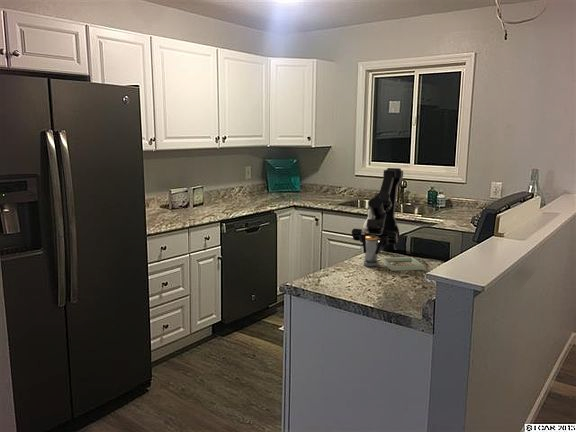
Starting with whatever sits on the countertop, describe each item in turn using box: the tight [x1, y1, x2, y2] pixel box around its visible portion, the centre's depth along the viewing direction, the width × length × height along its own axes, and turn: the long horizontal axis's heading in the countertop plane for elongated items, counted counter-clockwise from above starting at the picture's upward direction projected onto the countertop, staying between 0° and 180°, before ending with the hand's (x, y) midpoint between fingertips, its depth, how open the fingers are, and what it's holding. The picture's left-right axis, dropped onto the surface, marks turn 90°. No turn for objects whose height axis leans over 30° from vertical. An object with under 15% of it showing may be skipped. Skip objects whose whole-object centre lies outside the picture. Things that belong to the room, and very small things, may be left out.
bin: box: [380, 256, 425, 271], centre depth 193 cm, size 14×14×2 cm
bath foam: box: [362, 209, 372, 233], centre depth 217 cm, size 7×7×20 cm
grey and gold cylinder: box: [363, 235, 379, 268], centre depth 192 cm, size 6×6×12 cm
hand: (370, 253), depth 191 cm, fingers closed on grey and gold cylinder, 5 cm apart
